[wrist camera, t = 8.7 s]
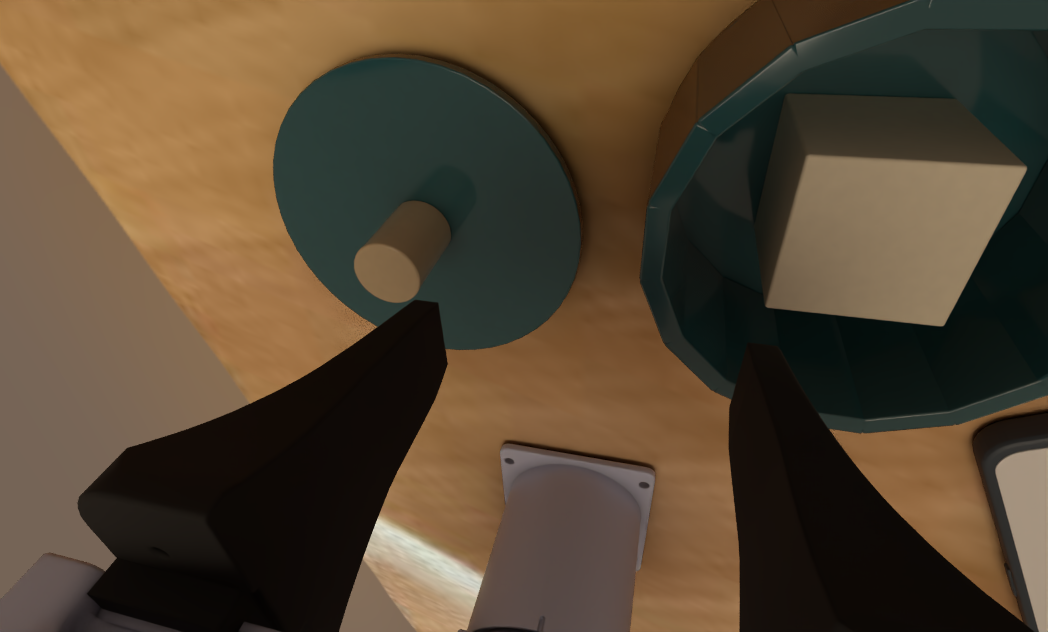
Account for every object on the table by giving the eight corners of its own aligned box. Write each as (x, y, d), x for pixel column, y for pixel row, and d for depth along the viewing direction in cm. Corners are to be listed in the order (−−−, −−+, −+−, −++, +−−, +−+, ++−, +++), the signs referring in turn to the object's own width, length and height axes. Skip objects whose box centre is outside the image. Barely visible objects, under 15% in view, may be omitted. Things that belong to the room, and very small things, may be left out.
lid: (582, 350, 25) (563, 424, 22) (331, 317, 28) (281, 379, 24) (591, 51, 17) (565, 96, 14) (245, 45, 20) (156, 81, 17)
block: (898, 238, 18) (944, 328, 15) (753, 226, 19) (764, 308, 16) (957, 97, 16) (1030, 167, 12) (785, 92, 16) (806, 155, 13)
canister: (968, 326, 20) (1043, 461, 15) (642, 291, 22) (626, 399, 18) (1184, -55, 13) (1435, -9, 9) (678, -46, 15) (668, -7, 11)
